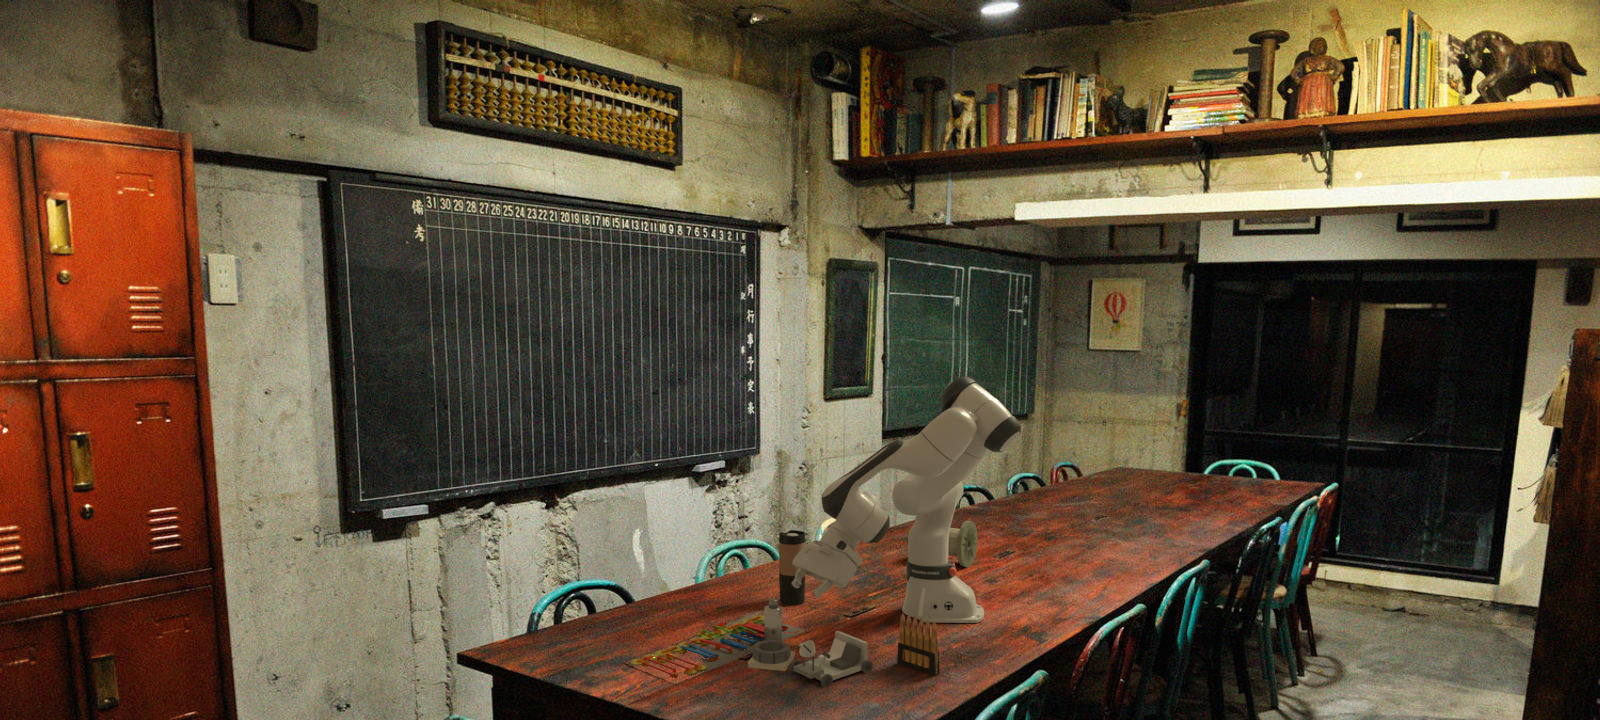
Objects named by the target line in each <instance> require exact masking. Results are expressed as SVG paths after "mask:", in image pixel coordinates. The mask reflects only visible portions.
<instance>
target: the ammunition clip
mask: <svg viewBox="0 0 1600 720" xmlns="http://www.w3.org/2000/svg"><path fill="white" fill-rule="evenodd" d="M905 618H906V617H905V613H904V612H902V613H901V615H900V621H899V624H900V625H899V633H898V643H897V657H896V663H897V664H898V665H899V666H902V667H905V668H909V669H913V670H914V671H918V672H921V673H924V674H927V675H930V676H933V677H935V676H937V675H940V651H939V649H938V647H939V644H938V643H939V641H938V632H937V631H938V630H937V629H938V627H937V625H936V622H932V626H931V624H930V622H929V621H928V620H927V622H925V626H924V622H923V620H922V618H921V619H920V620H919V623H918V619H917V618H916V617H913V618H912V617H911V616H910V615H907V618H906V619H905ZM911 618H912V619H913V621H912V619H911Z"/></svg>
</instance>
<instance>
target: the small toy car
mask: <svg viewBox="0 0 1600 720" xmlns="http://www.w3.org/2000/svg"><path fill="white" fill-rule="evenodd" d="M834 634H835V635H834V636H835V637H834V639H833V641H832V644H831V648H830V650H829V652H826V651H823V652H822V654H820V655H818V657H817V658H815V654H816V646H815V645H816V644H815V642H814V641H813V640H810V639H809V640H805V641H804V642H802V643H799V644H798V646H797V649H798V650H799V656H801V657H802V662H801V660H799V659H793V660H792V662H791V663H790V665H789V671H790V672H791V673H792V674H793V673H797V674H800V675H802V676H804V677H806V678H808V679H811V680H812V679H816V680H819V681H820V685H821V687H822V688H827V687H831V686H832V684H833V683H834V682H833V681H836V680H837V679H840V678H843V677H847V676H849V675H853V674H854V673H857V672H860V671H861V672H862V673H863V674H867V673H871V672H872V671H873V669H874V664H873V662H872V661H871V660H869V658H868V655H869V654H868V652H869V649H868V647H869V646H868V644H869V643H868V642H867V641H865V640H863V639H861V638H858V637H855V636H852V635H850V634H847V633H845V632H842V631H840V630H836V631H835V633H834ZM805 658H811V659H812V660H807V661H806V659H805Z"/></svg>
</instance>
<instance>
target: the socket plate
mask: <svg viewBox="0 0 1600 720" xmlns="http://www.w3.org/2000/svg"><path fill="white" fill-rule="evenodd" d="M795 654H796V653H795V651H792V650H791V645H790V643H787V642H786V641H785V640H783V641H780V640H765V641H761V642H758V643H756V644H755V645H754V646H753V653H752V657H751V658H750V659H749V660H748V661H747V668H749V669H760V670H768V671H769V670H772V671H782V672H786V671H787V670H788V669H789V667H790V665H791V663H792V661H793V660H794V658H795V656H796V655H795Z"/></svg>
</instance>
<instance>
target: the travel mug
mask: <svg viewBox="0 0 1600 720" xmlns="http://www.w3.org/2000/svg"><path fill="white" fill-rule="evenodd" d="M778 535H779V538H778V539H779V540H778V541H779V542H778V543H779V545H778V551H779V552H778V579H779V580H778V581H779V583H778V584H779V585H778V586H779V603H780V602H781V604H782V605H784V604H785V605H784V606H791V605H794V606H799V605H798V604H800V605H803V604H804V603H805V596H806V595H805V594H806V576H805V577H802V580H801V583H802V584H801V586H800V587H799V588H795V587H794V586H793V585H792V582H793V580H794V579H795V575H796V571H797V569H796V568H795V567H794V566H793V565H792V562H793V559H794V558H795V557H796V555H797V554H798V553H799V552H800V551H801V550H802V548H803V547H804V546H805V545H806V533H805V531H802V530H797V529H796V530H795V529H793V530H788V531H787V532H783V531H780V532H779V534H778ZM802 603H803V604H802Z"/></svg>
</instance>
